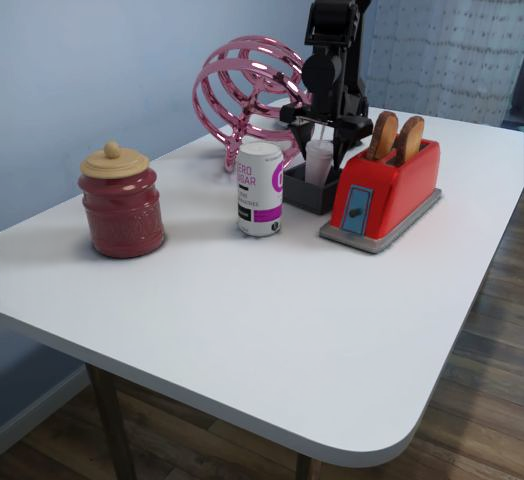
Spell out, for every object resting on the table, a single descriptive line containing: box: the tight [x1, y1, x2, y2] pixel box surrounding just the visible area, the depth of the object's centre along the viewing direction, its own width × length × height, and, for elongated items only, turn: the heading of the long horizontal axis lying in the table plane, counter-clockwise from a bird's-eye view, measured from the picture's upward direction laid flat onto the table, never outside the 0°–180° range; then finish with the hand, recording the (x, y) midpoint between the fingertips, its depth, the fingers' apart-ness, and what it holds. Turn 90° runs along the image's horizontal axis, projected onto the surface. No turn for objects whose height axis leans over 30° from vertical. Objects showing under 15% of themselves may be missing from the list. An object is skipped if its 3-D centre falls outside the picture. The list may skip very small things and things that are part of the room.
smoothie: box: [305, 124, 333, 187], centre depth 100 cm, size 6×6×14 cm
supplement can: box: [235, 140, 284, 237], centre depth 89 cm, size 8×8×15 cm
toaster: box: [318, 110, 443, 254], centre depth 93 cm, size 32×13×19 cm, turn 144°
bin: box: [282, 161, 344, 216], centre depth 103 cm, size 12×12×5 cm
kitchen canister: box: [77, 140, 165, 259], centre depth 84 cm, size 13×13×18 cm
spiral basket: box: [191, 34, 316, 172], centre depth 109 cm, size 28×28×27 cm
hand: (321, 165), depth 100 cm, fingers open, 7 cm apart
